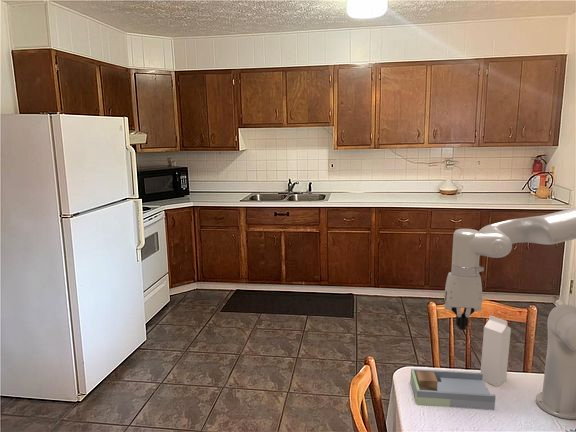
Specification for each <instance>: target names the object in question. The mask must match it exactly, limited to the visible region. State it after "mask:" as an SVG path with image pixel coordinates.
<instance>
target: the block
mask: <svg viewBox="0 0 576 432" xmlns="http://www.w3.org/2000/svg"><path fill="white" fill-rule="evenodd" d="M416 379H417V382H418V386H419V389H420V390H431V391H437V383H438V381H437V379H436V376H435V373H434V372H423V371H416Z"/></svg>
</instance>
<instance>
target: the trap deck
mask: <svg viewBox="0 0 576 432" xmlns="http://www.w3.org/2000/svg"><path fill="white" fill-rule="evenodd" d="M416 371H423V372H434V373H435V376H436V379H437V381H438V383H437V391H431V390H420V389H419V386H418V382H417V379H416ZM482 378H483V374H482V373H480V372H471V371H470V372H468V371H452V370H438V369H437V370H435V369H421V368H420V369H419V368H410V385H411V387H412V388H411V389H412V392H413V397H414V400H415V403H416V405H418V406H431V407H449V408H460V409H472V410H473V409H477V410H490V411H495V405H496V395H495V394H491V392H490V391H489V389H488V388H487V386H486V385H485V381H483V380H482Z"/></svg>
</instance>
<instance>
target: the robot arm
mask: <svg viewBox="0 0 576 432" xmlns="http://www.w3.org/2000/svg"><path fill="white" fill-rule="evenodd" d="M452 236H453V237H452V253H451V254H452V255H451V271H449V272H448V274H447V277H446V280H445V281H446V282H445V288H444V295H443V296H444V298H443V299H444V305H443V308H444V310H447V311H450V312H453V314H455V315H456V316H455V317H456V319H455V325H456V327H458V329H459V330H460V331H462V330H463V331H466V330H467V327H468V324H469V323H468V322H469V321H468V320H469V318H470V316H471V315H472V314H473V313H475V312H479V311H480V312H481V311H482V304H483V286H482V279H481V278H482V277H481V275H480V272H484V271H485V268H484V266H480V258H481V257H480V256H483V257H487V258H494V259H495V258H496V259H497V258H504V257H507V255H509V254H510V253H511V251H512V249H513V244H517V243H531V244H540V245H555V244H556V245H557V244H560V243H564V242H568V241H573V240H576V207H572V208H569V209H564V210H559V211H555V212H552V213H548V214H543V215H536V216H528V217H521V218H513V219H507V220H504V221H500V222H495V223H491V224H487V225H485V226H483V227H481V229H480V228H479V230H477V229H474V228H473V229H472V228H458V229H455V231H454V232H453V235H452ZM462 309H463V311H462ZM546 327H547V348H546V357H545V364H544V365H545V367H544V374H543V375H544V376H543V384H542V385H543V386H542V391H541V392H539V393H537V394H536V396H535V403H536V404H537V406H538V407H539V408H540V409H542V410H543V411H544V412H546V413H548V414H550V415H552V416H554V417H558V418H561V419H565V420H576V306H574V305H572V304H571V305H570V304H559V305H557V306H554V307H553V308H552V309H551V311H550V312H549V314H548V317H547V326H546Z"/></svg>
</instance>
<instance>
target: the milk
mask: <svg viewBox="0 0 576 432" xmlns="http://www.w3.org/2000/svg"><path fill="white" fill-rule="evenodd" d="M511 332H512V327H510V326H508V321H507V320H505V319H502V318H499V317H496V316H493V315H489V317H488V320H487V322H486V324H485V325H484V326H483V336H482V337H483V338H482V349H481V361H480V372H479V373H482V374H483V378H482V380H483V382H484V383H485V382H486V383H488V384H490V385H492V386H494V387H495V388H497V387H499V386H500V385H502V384H504V383H505V382H507V375H508V366H509V365H508V364H509V356H510V355H509V354H510V345H511V344H510V343H511V342H510V341H511V335H512V334H511Z"/></svg>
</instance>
